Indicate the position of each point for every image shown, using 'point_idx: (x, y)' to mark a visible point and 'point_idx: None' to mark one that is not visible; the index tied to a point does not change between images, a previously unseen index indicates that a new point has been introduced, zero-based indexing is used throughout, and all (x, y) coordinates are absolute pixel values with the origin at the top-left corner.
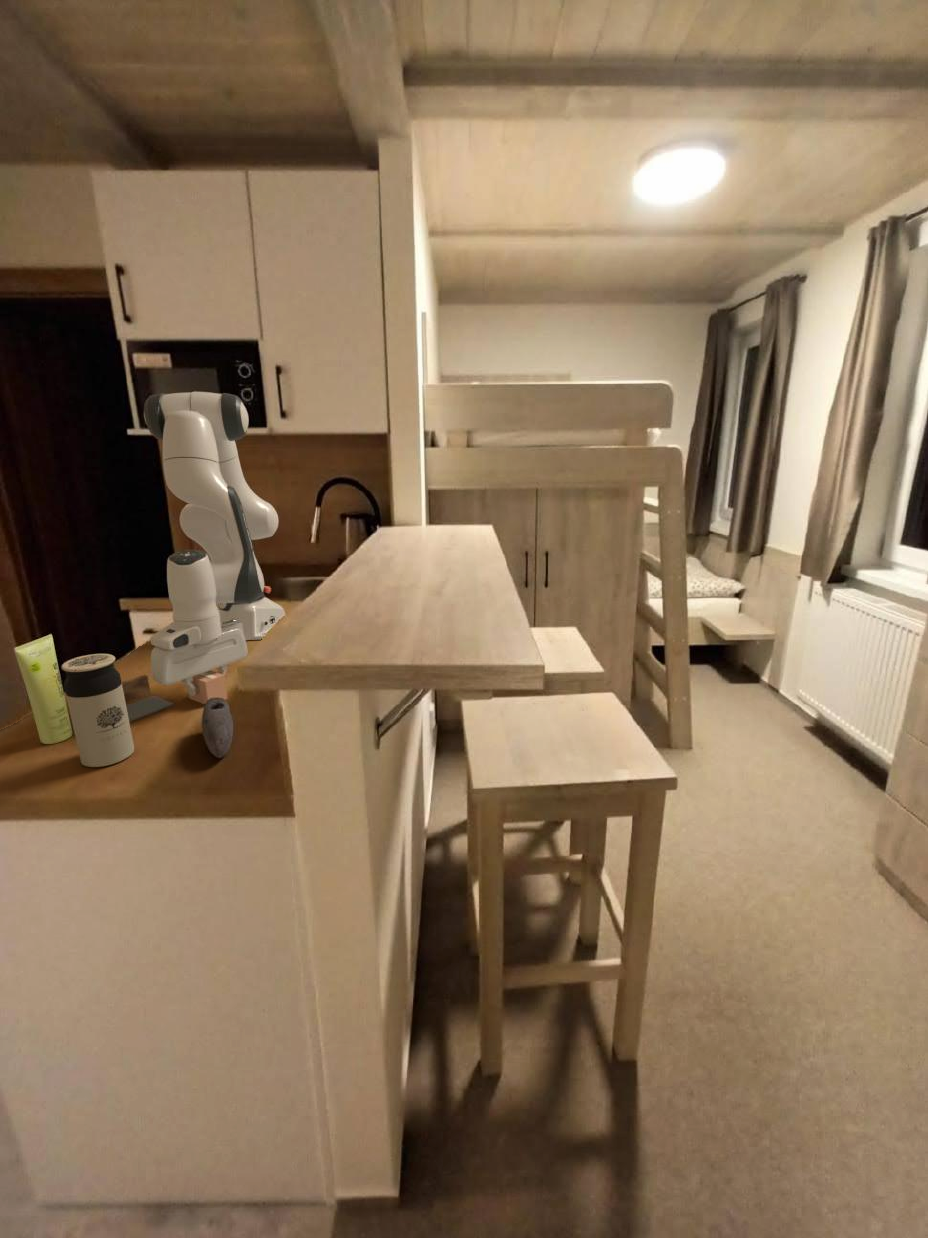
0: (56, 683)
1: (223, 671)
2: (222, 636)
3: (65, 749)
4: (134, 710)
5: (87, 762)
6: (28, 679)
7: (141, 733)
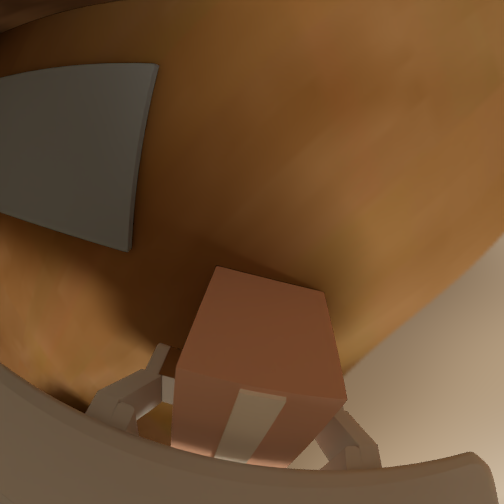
0: None
1: (328, 458)
2: None
3: None
4: (28, 152)
5: None
6: None
7: (10, 297)
